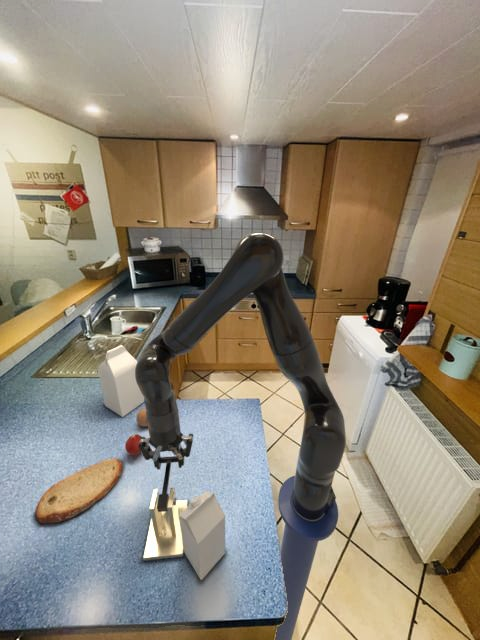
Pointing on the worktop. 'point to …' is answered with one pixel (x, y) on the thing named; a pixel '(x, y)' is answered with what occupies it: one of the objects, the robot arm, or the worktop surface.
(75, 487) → the slice of bread
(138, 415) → the egg
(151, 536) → the switch bracket
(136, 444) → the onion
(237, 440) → the worktop surface
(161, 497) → the switch lever
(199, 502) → the milk carton
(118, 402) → the milk
